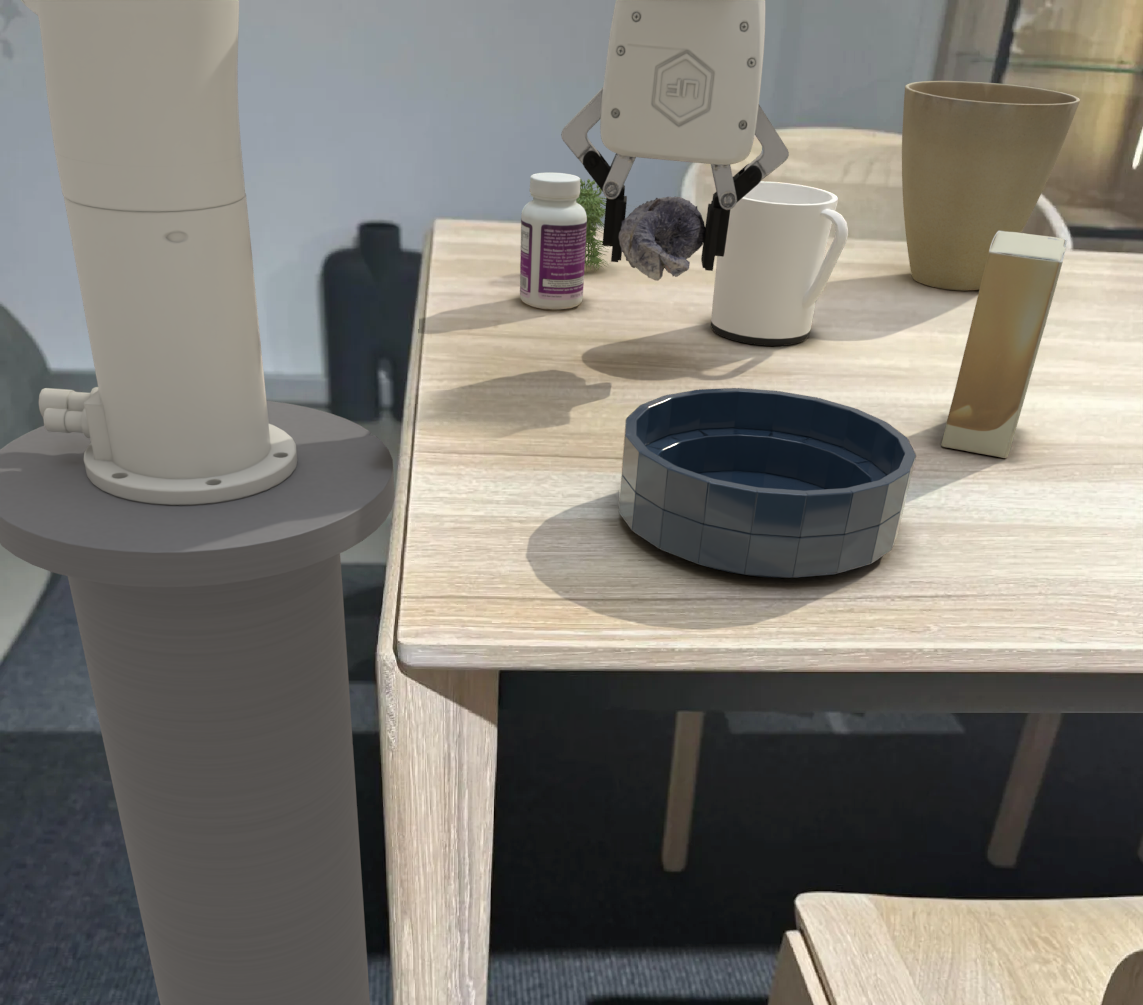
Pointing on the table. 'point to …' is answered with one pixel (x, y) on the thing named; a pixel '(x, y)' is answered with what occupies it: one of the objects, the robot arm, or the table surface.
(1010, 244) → the cosmetic box
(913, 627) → the table surface
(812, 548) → the bowl
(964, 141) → the plant pot
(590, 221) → the green plant
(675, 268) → the seashell
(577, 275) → the pill bottle
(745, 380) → the table surface
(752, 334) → the mug
